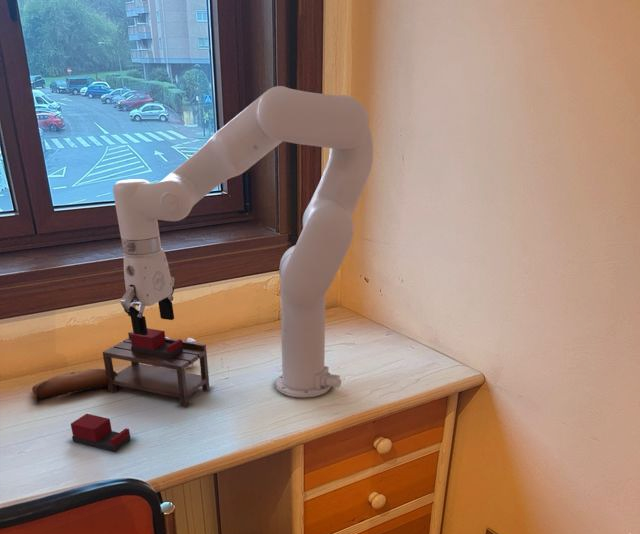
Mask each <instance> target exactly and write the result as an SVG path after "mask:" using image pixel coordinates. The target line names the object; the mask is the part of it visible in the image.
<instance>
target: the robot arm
mask: <svg viewBox="0 0 640 534" xmlns="http://www.w3.org/2000/svg"><path fill="white" fill-rule="evenodd" d="M369 126H370V119H369V113H368V111H367V109H366V107H365V106H364V105H363V104H362V102H360V100H358V99H356V98H354V97H351V96H349V95H345V94H337V95H336V94H334V95H333V94H325V93H318V92H311V91H305V90H298V89H294V88H290V87H287V86H284V85H277V86H273V87H270V88H268V89H267V90H265V92H263V93H262V94H261V95H260V96H258V97H257V98H256V99H255V100H254V101H252V102H251V103H250V104H249V105H247V106H246V107H244V109H243V110H242V111H240V112H239V113H238V114H236V116H234V117H233V118H232V119H231V120H229V121H228V122H227V123H226V124H225V125H224V126H222V127H220V129H218V130H217V131H216V132H215V133H213V135H212V136H211V137H209V139H208V140H207V141H206V143H204V145H202V146H201V147H200V148H199V149H198V150H197V151H196V152H195V153H193V154H192V155H191V156H190V157H189V158H187V159H186V160H185V161H183V162H181V164H180V165H179V166H178V167H176V168H175V169H173V170H172V171H171V172H170V173H168V174H167V175H166V176H165V177H164V178H163V179H162V180H160V181H156V182H150V181H148V180H147V179H143V178H130V179H123V180H118V181H115V183H114V184H113V188H112V192H113V193H112V194H113V198H114V205H115V211H116V216H117V221H118V222H117V223H118V228H119V234H120V241H121V246H122V252H123V276H124V285H125V293H124V294H123V295H122V297H121V298H120V300H119V303H120V305H121V306H122V308H123V311H124V312H125V313H126V314H127V316H128V317H130V321H131V326H132V332H133V333H134V334H138V335H147V334H148V332H147V328H148V326H147V321H146V316H144V311H145V308H146V307H151V306H153V305H155V304H158V310H159V316H160V318H161V319H162V320H167V321H173V320H175V314H174V307H173V301H174V296H173V294H174V292H175V280H176V279H175V277H174V276H172V275H171V271H170V266H169V262H168V259H167V256H166V253H165V250H164V248H163V247H162V242H161V235H160V228H159V222H158V221H165V222H179V221H181V220H184V219H186V217H188V216H189V214H190V213H191V211H192V209H193V207H194V206H195V205H196V204H197V203H199V202H200V201H201V200H202V199H203V198H205V197H206V196H207V195H208V194H210V193H211V192H212V191H213V190H214V189H216V188H217V187H218V186H220V185H222V184H223V183H224V182H226V181H227V180H229V179H232V178H235V177H238V176H240V175H242V174H243V173H245V172H246V171H247V170H249V169H250V168H252V166H254V165H256V163H258V162H259V161H260V160H261V159H263V158H264V157H265V156H267V154H269V153H270V152H271V151H273V150H274V149H275V148H277V147H278V146H279V145H280V144H282V143H284V142H285V143H290V144H297V145H303V146H311V147H319V148H326V149H329V154H328V155H329V156H328V158H327V159H328V160H327V162H326V165H325V167H324V169H323V172H322V174H321V178H320V180H319V183H318V184H317V186H316V189H315V191H314V192H313V195H312V197H311V199H310V202H309V203H308V205H307V207H306V208H305V211H304V212H303V216H302V230H301V232H300V234H299V236H298V239H297V241H296V244H295V245H292V246H290V247H289V248H288V249H287V250H286V251H285V252H284V253H283V255H282V257H281V258H280V262H279V268H278V269H279V272H278V274H279V291H280V292H279V293H280V294H279V295H280V331H281V336H280V337H281V371H282V373H281V375H279V376H278V377H277V378H276V381H275V388H276V390H277V391H278V392H279V393H281V394H283V395H285V396H288V397H292V398H302V399H303V398H313V397H318V396H322V395H324V394H326V393H327V392H328V391H330V389H331V387H332V388H337V389H339V388H340V387H341V385H342V379H341V378H340V374H331V372H329V366H327V365H326V366H325V359H326V358H325V354H326V353H325V352H326V351H325V350H326V349H325V348H326V347H325V342H326V334H325V333H326V294H327V292H328V291H329V289H330V287H331V285H332V283H333V282H334V280H335V278H336V276H337V274H338V271H339V269H340V267H341V265H342V263H343V262H344V260H345V257H346V255H347V253H348V252H349V249H350V246H351V244H352V241H353V237H354V231H355V225H354V220H353V218H352V217H353V214H354V212H355V210H356V207H357V205H358V203H359V201H360V198H361V197H362V194H363V191H364V189H365V186H366V185H367V182H368V180H369V177H370V174H371V170H372V166H373V162H374V144H373V137H372V134H371V129H370V127H369ZM136 307H138V309H137V308H136Z"/></svg>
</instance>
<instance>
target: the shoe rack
mask: <svg viewBox="0 0 640 534" xmlns="http://www.w3.org/2000/svg"><path fill="white" fill-rule="evenodd" d="M132 333H133V331H129V332H128V333H127V335H128V337H127V338H126V339H123V340H122V341H120V342H119V343H117V344H114V345H113V346H112V347H111V346H110V347H109V348H107V349H105V350H103V351H102V358H103V363H104V369H105V370H106V376H107V382H108V386H107V387H108V392H110V393H114V392H116V391H117V386H119V387H124V388H129V389H134V390H139V391H143V392H149V393H154V394H159V395H164V396H169V397H173V398H178V399H179V404H180V407H183V408H187V407H188V406H189V398H188V397H189V396H191V395H192V394H193V393H195V392H196V391H198V390H199V389H200V388H201V390H202V391H208V390H210V388H211V387H210V377H209V366H208V364H209V363H208V356H207V353H208V352H207V345H206V344H205V343H199V342H196V343H193V342H188V341H187V340H182V346H183V351H182V352H180V353H179V354H177V355H176V356H174V357H173V358H171V359H169V358H164V357H158V356H153V355H147V354H142V353H136V352H132V350H131V346H132V343H131V336H130V334H132ZM165 340H166V343H169V344H172V343H174V342H175V341H177V340H178V339H175V338H170V337H169V338H165ZM113 359H115V360H122V361H128V362H130V365H128V366H126V367H125V368H123V369H121V370H120V371H118V372H116V373H117V374H118V375H117V376H114V371H115V370H114V365H113V364H114V363H113ZM198 360H199V367H200V374H197V373H192V372H187V371H186V369H187V368H189V367H188V366H189V364H192V363H193V364H194V363H196V362H197V361H198ZM160 367H164V368H160ZM165 368H170V369H175V370H170V369H165ZM176 370H177V371H176Z"/></svg>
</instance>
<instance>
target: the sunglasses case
mask: <svg viewBox="0 0 640 534" xmlns="http://www.w3.org/2000/svg"><path fill="white" fill-rule="evenodd" d="M117 373H118V372H116V370H114V376H117V375H118V374H117ZM104 387H108V382H107V376H106V370H105V368H90V369H85V370H79V371H72V372H69V373H63V374H59V375H55V376H53V377H50V378H48V379H46V380H44V381H40V382H38V383H37V384H35V385H33V386H32V387H31V390H32V394H33V396H34V401H35V403H36V404H37V403H39V402H42V401H43V402H44V401H46V400H50V399H55V398H57V397H59V396H65V395H67V394H73V393H80V392H83V391H87V390H94V389H99V388H104Z"/></svg>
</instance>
